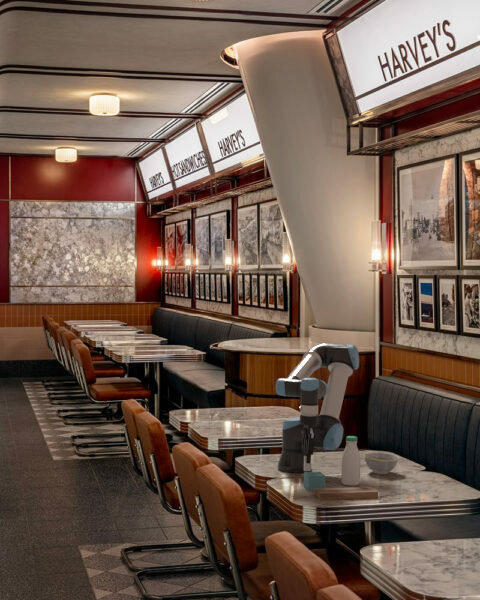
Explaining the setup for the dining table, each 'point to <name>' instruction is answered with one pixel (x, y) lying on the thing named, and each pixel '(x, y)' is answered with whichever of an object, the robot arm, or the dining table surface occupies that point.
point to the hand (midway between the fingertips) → (307, 470)
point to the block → (314, 480)
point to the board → (345, 493)
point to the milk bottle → (351, 463)
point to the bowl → (381, 462)
